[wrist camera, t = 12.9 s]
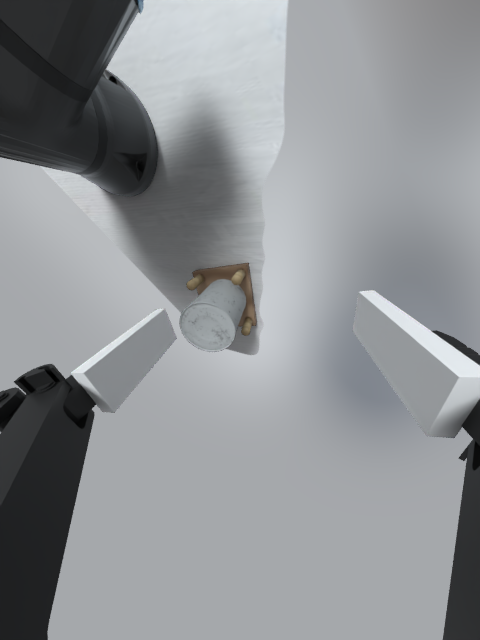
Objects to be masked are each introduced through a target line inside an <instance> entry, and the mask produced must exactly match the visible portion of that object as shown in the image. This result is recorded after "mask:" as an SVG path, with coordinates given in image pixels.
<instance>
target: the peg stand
mask: <svg viewBox="0 0 480 640" xmlns="http://www.w3.org/2000/svg"><path fill="white" fill-rule="evenodd" d="M192 274H193V277H194V278H193V279H191V280H190V281H188V282H187V284H186V285H187V288H188V289H189V290H194V289H195V288H197V291H198V294H199V295H200V294H201V293H202V292H203V291H204V290H205V289H206V288H207V287H208V286H209V285H210V284H211V283H212V282H214V281H216V280H220V279H226V280H230V281H232V283H233V284H234V285H239V286H240V287H241V288H242V290H243V291H244V294H245V296H246V306H245V309H244V311H243V313H242V316H241V319H240V322H239V325H238V326H243V327H242V330H241V333H242V334H243V335H245V336H247V335H249V334H250V329H251V326H256V322H257V321H256V314H255V306H254V299H253V292H252V285H251V278H250V270H249V263H244V264H237V265H229V266H222V267H215V268H208V269H200V270H195V271H194V272H192Z"/></svg>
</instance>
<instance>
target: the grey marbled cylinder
mask: <svg viewBox="0 0 480 640" xmlns="http://www.w3.org/2000/svg"><path fill="white" fill-rule="evenodd" d="M245 306H246V296H245V294H244V291H243V290H242V288H241V287H240V286H239V285H234V284H233V283H232V281H230V280H226V279H220V280H216V281H214V282H212V283H211V284H210V285H209V286H208V287H207V288H206V289H205V290H204V291H203V292H202V293H201V294H200V295H199V296H198V297H197V298H196V299H195V300H194V301H193V302H192V303H191V304H190V305H189V306H187V307H186V308H185V309H184V310H183V312H182V314H181V316H180V328H181V331H182V333H183V335H184V337H185V338H186V339H187V340H188V341H189V343H191V344H192V345H193V346H195V347H197V348H198V349H201V350H204V351H209V352H217V351H222V350H224V349H226V348H227V347H229V346H230V345H231V343H232V342H233V340H234V338H235V333H236V330H237V328H238V325H239V322H240V319H241V316H242V313H243V311H244V309H245Z"/></svg>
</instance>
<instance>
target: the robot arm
mask: <svg viewBox="0 0 480 640" xmlns="http://www.w3.org/2000/svg"><path fill="white" fill-rule="evenodd" d="M142 10H143V0H0V157H2V158H7V159H12V160H16V161H21V162H26V163H30V164H35V165H39V166H44V167H48V168H53V169H58V170H62V171H67V172H72V173H76V174H79V175H81V176H82V177H84V178H86V179H87V180H89V181H91V182H92V183H94V184H96V185H98V186H99V187H100V188H102V189H104V190H106V191H108V192H110V193H113V194H117V195H123V196H134V195H138V194H140V193H142V192H143V191H144V190H145V189H146V188H147V187H148V186H149V185H150V183H151V181H152V179H153V177H154V174H155V170H156V165H157V144H156V138H155V133H154V130H153V126H152V123H151V121H150V118H149V116H148V114H147V112H146V110H145V108H144V106H143V104H142V103H141V101H140V100H139V98H138V97H137V96H136V94H135V93H134V92H133V91H132V90H131V89H130V88H129V87H128V86H127V85H126V84H125V83H123V82H122V81H121V80H120V79H119V78H118V77H117V76H115V75H114V74H113V73H111V72H109V71H108V70H106V68H107V66H108V64H109V62H110V60H111V59H112V57H113V55H114V53H115V52H116V50H117V48H118V46H119V45H120V43H121V41H122V39H123V38H124V36H125V34H126V32H127V31H128V29H129V27H130V25H131V24H132V22H133V20H134V18H135V17H136V15H137V13H138V12H139V13H140V14H141V12H142ZM353 332H354V334H355V335H356V336H357V338H358V339H359V341H360V342H361V344H362V345H363V347H364V348H365V349H366V351H367V352H368V354H369V355H370V357H371V358H372V359H373V361H374V362H375V364H376V365H377V366H378V368H379V369H380V371H381V372H382V374H383V375H384V376H385V377H386V379H387V381H388V382H389V384H390V385H391V386H392V388H393V389H394V391H395V392H396V394H397V395H398V397H399V398H400V399H401V401H402V402H403V404H404V405H405V407H406V408H407V409H408V411H409V412H410V414H411V415H412V417H413V418H414V419H415V421H416V422H417V424H418V425H419V426H420V428H421V429H422V431H423V432H424V433H425V435H426V436H432V437H446V438H455V436H456V435H457V434H458V432H459V431H460V429H461V428H462V427H463V428H464V429H465V430H466V431H467V433H468V434H469V435H470V436H471V437H472V438H473V440H472V441H471V443H470V444H469V445H468V446H467V448H466V449H465V450H464V452H463V453H462V454H461V456H460V457H459V459H461V460H463V461H464V460H465V459H466V458H467V463H466V470H465V477H464V485H463V492H462V500H461V507H460V515H459V523H458V530H457V537H456V545H455V553H454V560H453V567H452V575H451V583H450V590H449V597H448V605H447V612H446V620H445V627H444V635H443V640H480V355H478V353H477V352H475V351H474V350H472V349H471V348H467V346H466V345H465V344H463V343H461V342H460V341H458V340H457V339H455V338H454V337H451V336H449V335H447V334H444V333H442V332H439V331H430V330H429V329H427V328H426V327H424V326H423V325H422V324H420V323H419V322H417V321H416V320H414V319H413V318H412V317H410V316H409V315H407V314H406V313H405V312H403V311H402V310H400V309H399V308H398V307H396V306H395V305H394V304H392V303H391V302H389V301H388V300H386V299H385V298H384V297H382V296H380V295H379V294H378V293H377V292H375V291H374V290H372V291H361V292H359V293H358V299H357V306H356V313H355V320H354V326H353ZM176 339H177V338H176V335H175V333H174V330H173V328H172V325H171V323H170V320H169V318H168V315H167V313H166V310H165V309H156V310H155V311H153V312H152V313H151V314H149V315H148V316H147V317H145V318H144V319H143V320H141V321H140V322H138V323H137V324H136V325H134V326H133V327H132V328H130V329H129V330H128V331H126V332H125V333H124V334H122V335H121V336H120V337H118V338H117V339H116V340H114V341H113V342H112V343H110V344H109V345H107V346H106V347H105V348H104V349H102V350H101V351H99V352H98V353H97V354H95V355H94V356H93V357H91V358H90V359H89V360H87V361H86V362H85V363H83V364H82V365H81V366H79V367H78V368H76V369H75V370H74V371H72V372H71V374H72V375H71V376H70V377H68V378H67V379H65V378H64V377H63V376H62V374H61V373H60V372H59V371H58V370H57V369H56V367H55V366H54V365H52V364H47V365H43V366H40V367H37V368H36V369H33V370H31V371H29V372H27V373H25V374H24V375H22V376H20V377H19V378H18V379H17V380H16V381H14V382H15V383H16V384H17V385H18V386H19V387H20V388H21V389H22V390H23V391H24V392H25V393H26V395H25V394H24V393H23V392H22V391H21V390H19V389H18V388H11V389H8V390H5V391H1V392H0V432H1V434H0V640H48V636H47V631H48V624H49V619H50V614H51V610H52V605H53V601H54V596H55V592H56V587H57V583H58V578H59V573H60V569H61V564H62V560H63V555H64V551H65V546H66V542H67V537H68V533H69V528H70V524H71V519H72V515H73V510H74V506H75V501H76V497H77V492H78V487H79V483H80V478H81V474H82V469H83V465H84V460H85V456H86V451H87V446H88V442H89V437H90V433H91V429H92V424H93V419H94V412H93V411H92V408H93V407H94V406H95V405H97V406H98V407H99V408H100V409H101V411H102V412H111V413H115V411H116V410H117V409H118V408H119V407H120V405H121V404H122V403H123V402H124V401H125V399H126V398H127V397H128V396H129V395H130V393H131V392H132V391H133V390H134V389H135V388H136V386H137V385H138V384H139V383H140V382H141V380H142V379H143V378H144V377H145V376H146V374H147V373H148V372H149V371H150V369H151V368H152V367H153V366H154V365H155V364H156V363H157V361H158V360H159V358H161V357H162V355H163V354H164V353H165V352H166V351H167V349H168V348H169V347H170V346H171V345H172V343H173V342H174V341H175V340H176Z"/></svg>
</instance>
